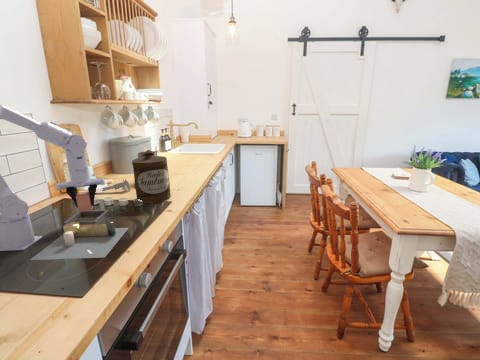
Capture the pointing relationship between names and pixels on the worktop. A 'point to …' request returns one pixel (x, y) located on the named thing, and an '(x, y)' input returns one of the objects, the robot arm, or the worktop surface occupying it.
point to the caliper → (118, 186)
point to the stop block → (84, 202)
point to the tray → (88, 214)
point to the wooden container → (151, 178)
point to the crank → (90, 229)
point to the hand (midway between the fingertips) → (85, 205)
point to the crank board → (80, 246)
